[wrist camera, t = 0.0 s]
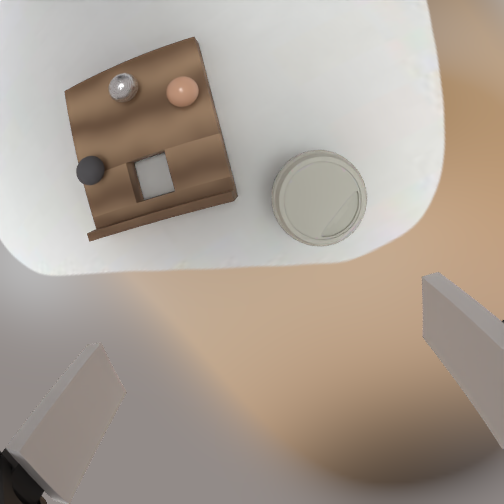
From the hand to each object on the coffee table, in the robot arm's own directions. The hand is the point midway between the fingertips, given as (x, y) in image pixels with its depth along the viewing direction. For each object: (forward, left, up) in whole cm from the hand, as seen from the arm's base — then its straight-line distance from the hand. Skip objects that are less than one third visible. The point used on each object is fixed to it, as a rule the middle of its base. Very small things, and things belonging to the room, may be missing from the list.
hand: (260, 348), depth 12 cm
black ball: (-11, -18, -24) cm, 32 cm away
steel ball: (-19, -11, -24) cm, 33 cm away
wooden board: (-13, -11, -28) cm, 33 cm away
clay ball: (-16, -5, -24) cm, 29 cm away
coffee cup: (-2, +6, -28) cm, 29 cm away
